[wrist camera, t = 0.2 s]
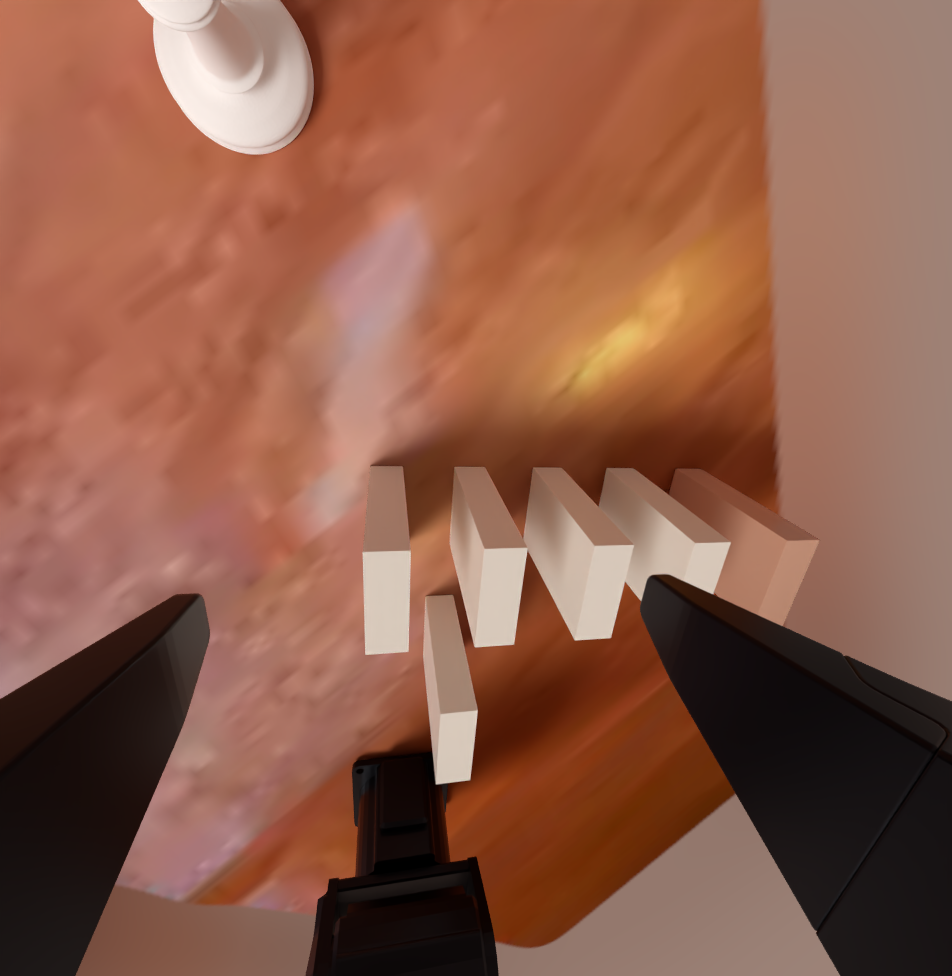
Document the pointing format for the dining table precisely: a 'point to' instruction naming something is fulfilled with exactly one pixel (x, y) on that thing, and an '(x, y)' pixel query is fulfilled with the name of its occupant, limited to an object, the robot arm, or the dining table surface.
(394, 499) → the domino
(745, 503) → the domino
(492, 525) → the domino
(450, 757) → the domino
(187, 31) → the chess piece
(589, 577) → the domino
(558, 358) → the dining table surface
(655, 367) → the dining table surface
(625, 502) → the domino
